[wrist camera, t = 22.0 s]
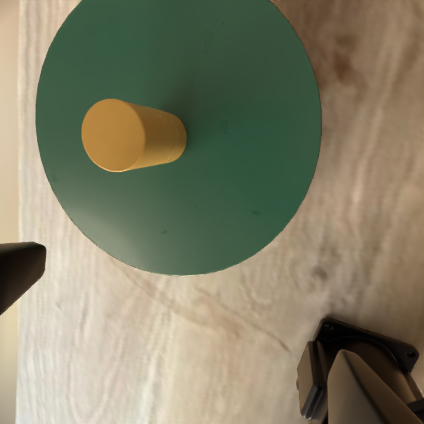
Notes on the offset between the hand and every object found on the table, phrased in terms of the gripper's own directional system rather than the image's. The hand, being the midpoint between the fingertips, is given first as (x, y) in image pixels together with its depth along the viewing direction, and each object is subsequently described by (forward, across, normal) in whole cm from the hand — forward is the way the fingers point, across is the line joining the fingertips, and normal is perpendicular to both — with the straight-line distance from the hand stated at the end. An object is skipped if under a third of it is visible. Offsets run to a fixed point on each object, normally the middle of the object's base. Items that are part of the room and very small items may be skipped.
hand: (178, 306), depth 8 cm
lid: (+7, +4, -4) cm, 9 cm away
